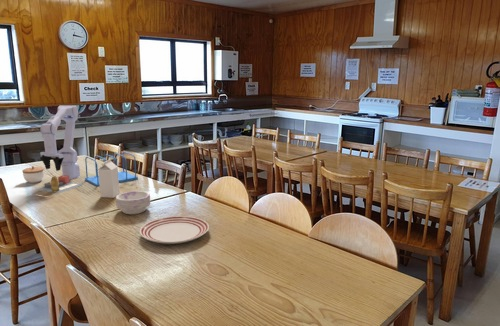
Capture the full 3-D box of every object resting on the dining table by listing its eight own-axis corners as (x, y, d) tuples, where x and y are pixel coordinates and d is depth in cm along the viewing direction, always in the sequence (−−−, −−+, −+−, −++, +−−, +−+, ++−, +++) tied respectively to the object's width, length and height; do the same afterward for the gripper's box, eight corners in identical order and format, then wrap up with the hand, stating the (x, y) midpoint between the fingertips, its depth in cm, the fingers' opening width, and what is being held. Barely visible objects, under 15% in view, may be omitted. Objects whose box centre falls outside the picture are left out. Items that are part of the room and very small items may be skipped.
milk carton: (119, 193, 202) (117, 159, 198) (113, 198, 195) (111, 162, 191) (106, 193, 203) (104, 158, 198) (100, 197, 196) (97, 161, 192)
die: (63, 181, 220) (62, 174, 219) (69, 182, 220) (69, 175, 219) (59, 183, 217) (58, 176, 216) (65, 184, 216) (64, 177, 215)
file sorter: (97, 187, 213) (94, 161, 209) (85, 181, 225) (82, 156, 221) (138, 179, 230) (136, 154, 226) (124, 174, 242) (123, 150, 238)
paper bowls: (134, 203, 188) (133, 188, 186) (157, 209, 180) (156, 193, 179) (109, 212, 175) (108, 196, 173) (132, 219, 168) (131, 202, 166)
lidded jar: (38, 185, 216) (36, 169, 214) (19, 184, 216) (17, 168, 214) (48, 179, 226) (46, 164, 224) (30, 179, 226) (29, 164, 224)
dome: (54, 183, 215) (54, 179, 214) (59, 184, 214) (59, 180, 213) (48, 185, 211) (48, 181, 211) (53, 186, 210) (53, 182, 209)
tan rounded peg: (56, 189, 207) (54, 175, 205) (60, 190, 205) (59, 176, 203) (50, 190, 203) (48, 176, 202) (55, 191, 202) (53, 177, 200)
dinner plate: (137, 226, 161) (136, 218, 160) (200, 218, 171) (200, 211, 170) (143, 254, 136) (142, 246, 135) (217, 244, 146) (216, 236, 145)
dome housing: (55, 184, 217) (54, 180, 216) (63, 186, 215) (63, 181, 214) (44, 187, 211) (44, 183, 210) (53, 189, 208) (53, 185, 208)
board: (63, 182, 222) (63, 181, 222) (84, 185, 216) (84, 184, 216) (36, 190, 206) (36, 189, 206) (57, 194, 200) (57, 193, 200)
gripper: (34, 145, 206) (37, 169, 209) (54, 148, 201) (56, 172, 204) (45, 143, 212) (48, 166, 216) (64, 145, 207) (67, 169, 210)
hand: (53, 169), depth 210 cm, fingers open, 7 cm apart
